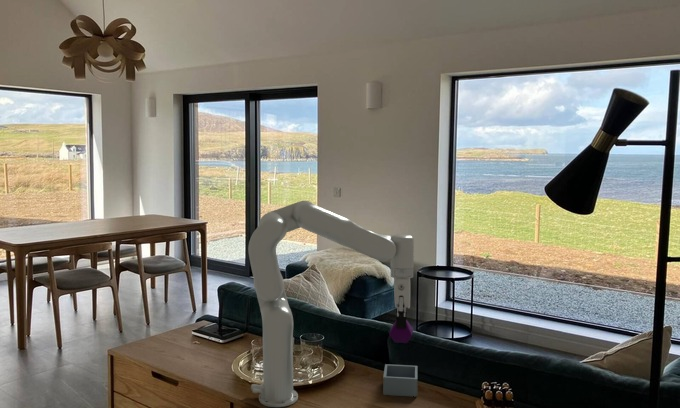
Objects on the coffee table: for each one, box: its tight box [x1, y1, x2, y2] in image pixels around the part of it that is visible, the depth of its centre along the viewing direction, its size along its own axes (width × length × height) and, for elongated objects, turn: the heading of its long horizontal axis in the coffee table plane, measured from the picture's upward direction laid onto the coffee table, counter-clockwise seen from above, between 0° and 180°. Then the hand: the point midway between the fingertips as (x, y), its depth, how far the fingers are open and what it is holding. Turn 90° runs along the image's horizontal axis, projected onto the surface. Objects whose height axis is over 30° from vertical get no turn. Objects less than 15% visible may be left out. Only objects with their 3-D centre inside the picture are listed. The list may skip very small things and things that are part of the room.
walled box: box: [382, 363, 418, 398], centre depth 190 cm, size 11×11×6 cm
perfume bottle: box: [388, 298, 414, 344], centre depth 187 cm, size 8×8×18 cm
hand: (401, 325), depth 188 cm, fingers closed on perfume bottle, 4 cm apart
